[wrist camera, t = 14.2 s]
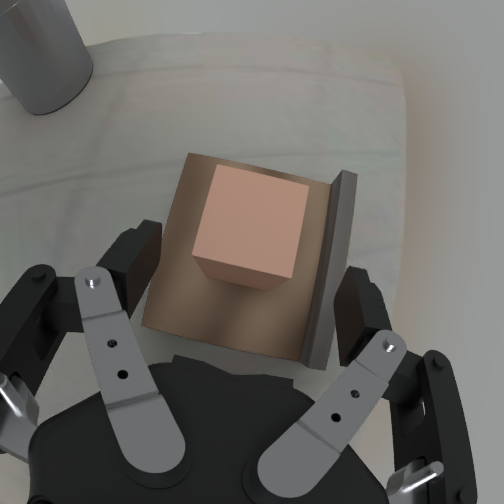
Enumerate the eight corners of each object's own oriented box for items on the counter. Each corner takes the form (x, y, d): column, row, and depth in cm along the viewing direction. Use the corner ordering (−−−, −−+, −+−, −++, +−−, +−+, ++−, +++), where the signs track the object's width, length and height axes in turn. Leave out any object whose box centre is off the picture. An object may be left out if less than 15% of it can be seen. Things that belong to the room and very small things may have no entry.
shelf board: (144, 325, 23) (128, 327, 19) (189, 158, 26) (184, 133, 22) (313, 362, 23) (328, 370, 20) (342, 193, 26) (360, 174, 22)
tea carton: (206, 276, 23) (191, 254, 14) (221, 217, 24) (217, 164, 15) (270, 291, 23) (295, 279, 14) (283, 231, 24) (313, 187, 15)
